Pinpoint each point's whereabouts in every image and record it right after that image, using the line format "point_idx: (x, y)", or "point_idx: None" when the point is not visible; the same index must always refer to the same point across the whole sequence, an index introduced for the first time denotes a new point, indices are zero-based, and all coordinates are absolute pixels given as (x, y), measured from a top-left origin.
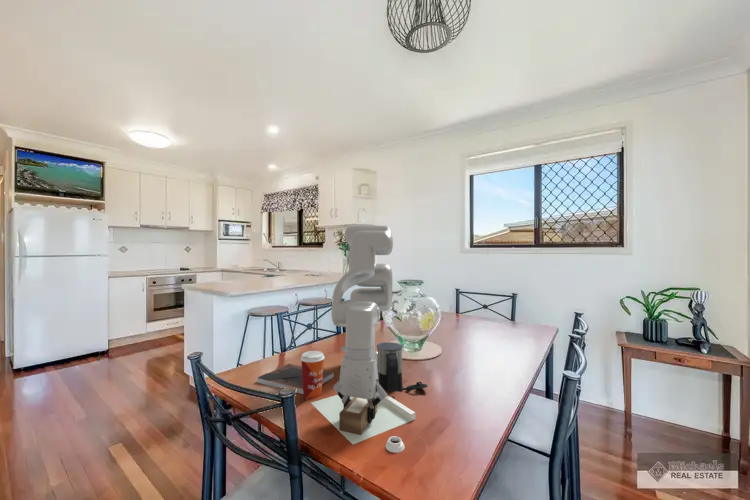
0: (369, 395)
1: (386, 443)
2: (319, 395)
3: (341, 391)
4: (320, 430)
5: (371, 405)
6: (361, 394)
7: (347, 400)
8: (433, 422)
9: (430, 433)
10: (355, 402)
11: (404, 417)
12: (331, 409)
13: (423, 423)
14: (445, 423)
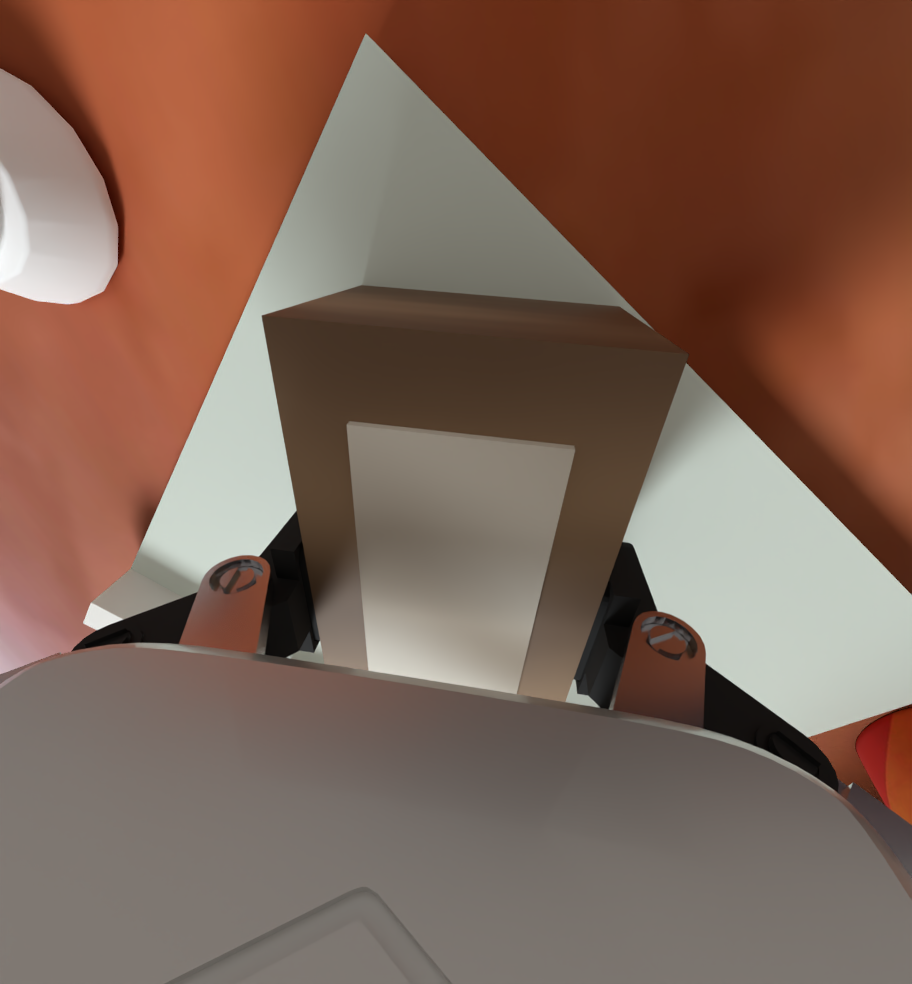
0: (13, 713)
1: (29, 176)
2: (891, 754)
3: (826, 828)
4: (842, 326)
5: (233, 587)
6: (219, 738)
7: (612, 658)
8: (73, 591)
9: (10, 495)
10: (501, 644)
11: (187, 594)
12: (762, 614)
13: (109, 576)
14: (20, 592)
